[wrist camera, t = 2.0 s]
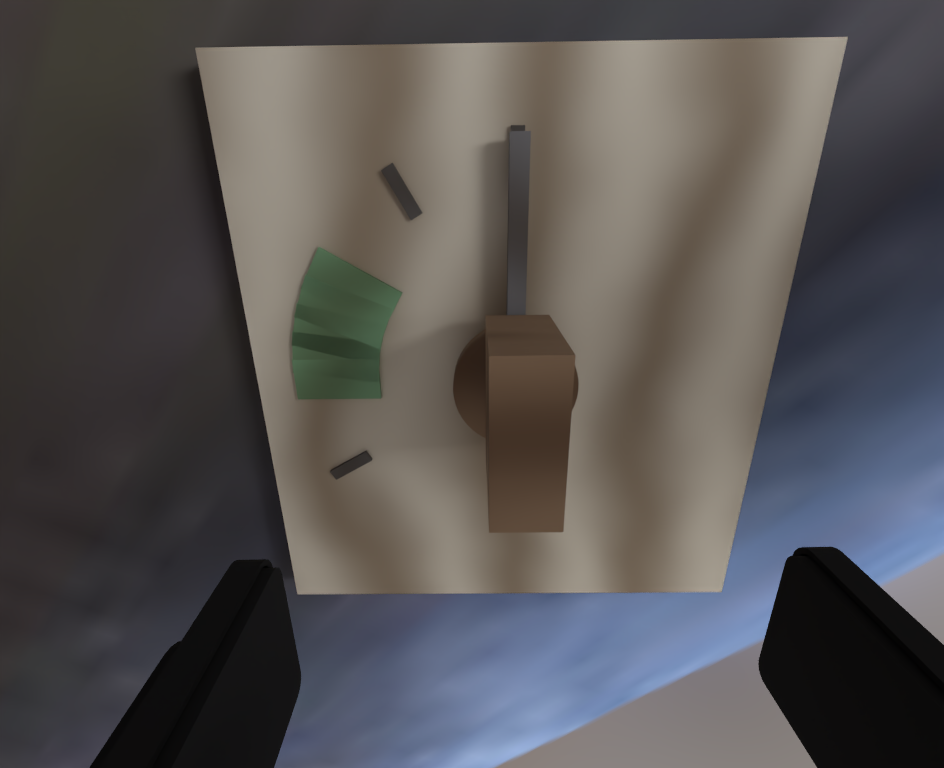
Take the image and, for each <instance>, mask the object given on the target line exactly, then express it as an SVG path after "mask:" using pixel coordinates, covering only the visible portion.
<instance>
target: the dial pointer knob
mask: <svg viewBox="0 0 944 768" xmlns="http://www.w3.org/2000/svg"><path fill="white" fill-rule="evenodd" d="M530 145H531V131H510V132H509V160H508V233H507V306H506V315H485V330H483V331H482V332H480V333H479V334H477V335H476V336H475V337H474V338H473V339H471V340H470V342H469V343H468V344H467V345H466V346H465V348H464V349H463V351H462V352H461V354H460V356H459V358H458V361H457V364H456V367H455V373H454V381H453V394H454V400H455V404H456V407H457V409H458V412H459V414H460V415H461V417H462V419H463V420H464V421H465V423H466V424H467V425H468V426H469V427H470V428H471V429H472V430H473V431H475V432H476V433H477V434H479V435H480V436H482V437H484V438H486V473H487V496H488V520H489V533H536V532H563V530H564V515H565V501H566V486H567V472H568V457H569V443H570V428H571V414H572V410H573V408H574V405H575V403H576V399H577V395H578V387H579V381H578V374H577V370H576V367H575V356H576V355H575V354H574V352H573V350H572V349H571V347H570V346H569V344H568V343H567V341H566V340H565V338H564V337H563V335H562V334H561V332H560V330H559V329H558V327H557V326H556V324H555V323H554V321H553V320H552V318H551V317H550V315H526V285H527V250H528V215H529V180H530Z"/></svg>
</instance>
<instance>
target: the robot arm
mask: <svg viewBox="0 0 944 768" xmlns="http://www.w3.org/2000/svg"><path fill="white" fill-rule="evenodd" d="M759 671H760V675H761V677H762V680H763V682H764V684H765V685H766V687H767V689H768V690H769V691H770V693H771V695H772V696H773V698H774V700H775V701H776V703H777V704H778V706H779V708H780V709H781V711H782V712H783V714H784V715H785V717H786V719H787V720H788V722H789V723H790V725H791V727H792V728H793V730H794V731H795V733H796V735H797V736H798V738H799V739H800V741H801V743H802V744H803V746H804V747H805V749H806V750H807V752H808V753H809V755H810V757H811V758H812V760H813V762H814V763H815V765H816V766H817V768H944V645H943V644H942V643H941V642H940V641H939V640H938V639H936V638H935V637H934V636H933V635H932V634H931V633H930V632H929V631H928V630H927V629H926V628H924V627H923V626H922V625H921V624H920V623H919V622H918V621H917V620H916V619H915V618H913V617H912V616H911V615H910V614H909V613H908V612H907V611H906V610H905V609H904V608H902V606H900V605H899V604H898V603H897V602H896V601H895V600H894V599H893V598H892V597H891V596H889V595H888V594H887V593H886V592H885V591H884V590H883V589H882V588H881V587H880V586H879V585H877V584H876V583H875V582H874V581H873V580H872V579H871V578H870V577H869V576H868V575H867V574H865V573H864V572H863V571H862V570H861V569H860V568H859V567H858V566H857V565H856V564H855V563H853V562H852V561H851V560H850V559H849V558H848V557H847V556H846V555H845V554H844V553H843V552H841V551H840V550H838V549H837V548H834V547H802V548H798V549H797V550H795V552H794V554H793V556H790V557H788V558H787V560H786V562H785V566H784V570H783V573H782V577H781V581H780V584H779V588H778V592H777V595H776V599H775V603H774V606H773V610H772V614H771V617H770V621H769V624H768V628H767V632H766V635H765V639H764V643H763V647H762V650H761V654H760V657H759ZM300 684H301V670H300V665H299V660H298V655H297V650H296V645H295V639H294V634H293V629H292V624H291V619H290V614H289V608H288V603H287V598H286V593H285V588H284V583H283V577H282V573H281V570H280V569H279V568H273V567H272V564H271V562H270V561H269V560H266V559H265V560H236V561H234V562H233V563H232V564H231V565H230V567H229V568H228V570H227V571H226V573H225V574H224V576H223V577H222V579H221V581H220V582H219V584H218V585H217V587H216V588H215V590H214V591H213V593H212V595H211V596H210V598H209V599H208V601H207V602H206V604H205V605H204V607H203V609H202V610H201V612H200V613H199V615H198V616H197V618H196V619H195V621H194V622H193V624H192V626H191V627H190V629H189V630H188V632H187V633H186V635H185V636H184V638H183V640H182V641H180V642H177V643H176V644H174V645H173V646H171V647H170V649H169V650H168V651H167V652H166V654H165V655H164V656H163V658H162V659H161V661H160V662H159V664H158V665H157V667H156V668H155V670H154V671H153V673H152V674H151V676H150V677H149V679H148V680H147V682H146V683H145V685H144V686H143V688H142V689H141V691H140V692H139V694H138V695H137V697H136V698H135V700H134V701H133V703H132V704H131V706H130V707H129V709H128V710H127V712H126V713H125V715H124V716H123V718H122V719H121V721H120V722H119V724H118V725H117V727H116V728H115V730H114V731H113V733H112V734H111V736H110V737H109V739H108V740H107V742H106V744H105V745H104V747H103V748H102V750H101V751H100V753H99V754H98V756H97V757H96V759H95V760H94V762H93V763H92V765H91V766H90V768H274V766H275V763H276V760H277V757H278V754H279V751H280V748H281V745H282V742H283V739H284V736H285V733H286V730H287V727H288V724H289V721H290V718H291V715H292V712H293V709H294V706H295V703H296V700H297V697H298V694H299V690H300Z"/></svg>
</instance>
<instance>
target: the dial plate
mask: <svg viewBox="0 0 944 768" xmlns="http://www.w3.org/2000/svg"><path fill="white" fill-rule="evenodd" d="M847 39H848V37H810V38H750V39H690V40H630V41H570V42H509V43H449V44H389V45H329V46H269V47H208V48H195V49H196V54H197V60H198V65H199V70H200V76H201V81H202V86H203V92H204V97H205V102H206V108H207V113H208V119H209V124H210V129H211V135H212V140H213V145H214V151H215V156H216V161H217V167H218V172H219V177H220V183H221V188H222V193H223V199H224V204H225V209H226V215H227V220H228V225H229V231H230V236H231V242H232V247H233V252H234V258H235V263H236V268H237V274H238V279H239V284H240V290H241V295H242V300H243V306H244V311H245V316H246V322H247V327H248V332H249V338H250V343H251V348H252V354H253V359H254V365H255V370H256V375H257V381H258V386H259V391H260V397H261V402H262V407H263V413H264V418H265V423H266V429H267V434H268V439H269V445H270V450H271V455H272V461H273V466H274V471H275V477H276V482H277V487H278V493H279V498H280V504H281V509H282V514H283V520H284V525H285V530H286V536H287V541H288V546H289V552H290V557H291V562H292V568H293V573H294V578H295V584H296V589H297V594H452V593H636V592H722V588H723V584H724V579H725V575H726V570H727V566H728V562H729V557H730V553H731V548H732V544H733V540H734V535H735V531H736V526H737V522H738V518H739V513H740V509H741V504H742V500H743V496H744V491H745V487H746V483H747V478H748V474H749V469H750V465H751V461H752V456H753V452H754V447H755V443H756V439H757V434H758V430H759V425H760V421H761V417H762V412H763V408H764V403H765V399H766V395H767V390H768V386H769V381H770V377H771V373H772V368H773V364H774V360H775V355H776V351H777V346H778V342H779V338H780V333H781V329H782V324H783V320H784V316H785V311H786V307H787V302H788V298H789V294H790V289H791V285H792V280H793V276H794V272H795V267H796V263H797V258H798V254H799V250H800V245H801V241H802V236H803V232H804V228H805V223H806V219H807V215H808V210H809V206H810V201H811V197H812V193H813V188H814V184H815V179H816V175H817V171H818V166H819V162H820V157H821V153H822V149H823V144H824V140H825V135H826V131H827V127H828V122H829V118H830V113H831V109H832V105H833V100H834V96H835V92H836V87H837V83H838V78H839V74H840V70H841V65H842V61H843V56H844V52H845V48H846V43H847ZM510 131H531V145H530V180H529V215H528V250H527V285H526V315H550V317H551V318H552V320H553V321H554V323H555V324H556V326H557V327H558V329H559V330H560V332H561V334H562V335H563V337H564V338H565V340H566V341H567V343H568V344H569V346H570V347H571V349H572V350H573V352H574V354H575V355H576V356H575V367H576V370H577V374H578V381H579V387H578V395H577V399H576V403H575V405H574V408H573V410H572V414H571V428H570V443H569V457H568V472H567V486H566V501H565V515H564V530H563V532H536V533H489V520H488V496H487V473H486V438H484V437H482V436H480V435H479V434H477V433H476V432H475V431H473V430H472V429H471V428H470V427H469V426H468V425H467V424H466V423H465V421H464V420H463V419H462V417H461V415H460V414H459V412H458V409H457V407H456V404H455V400H454V394H453V381H454V373H455V367H456V364H457V361H458V358H459V356H460V354H461V352H462V351H463V349H464V348H465V346H466V345H467V344H468V343H469V342H470V340H471V339H473V338H474V337H475V336H476V335H477V334H479V333H480V332H482V331H483V330H485V315H506V306H507V233H508V160H509V132H510Z"/></svg>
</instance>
